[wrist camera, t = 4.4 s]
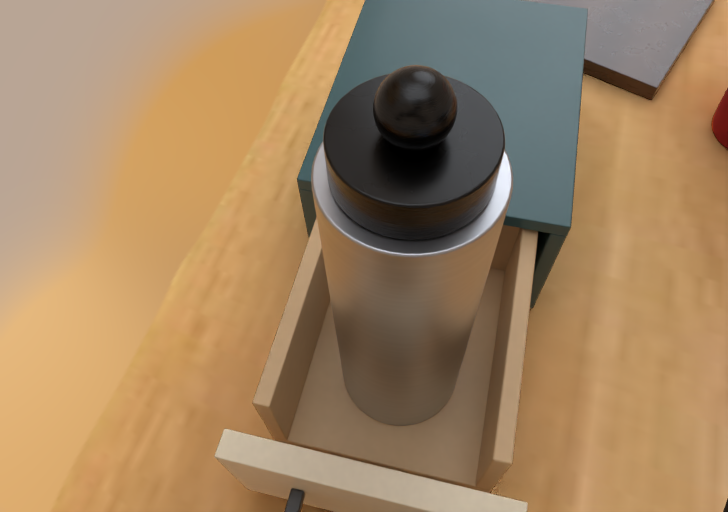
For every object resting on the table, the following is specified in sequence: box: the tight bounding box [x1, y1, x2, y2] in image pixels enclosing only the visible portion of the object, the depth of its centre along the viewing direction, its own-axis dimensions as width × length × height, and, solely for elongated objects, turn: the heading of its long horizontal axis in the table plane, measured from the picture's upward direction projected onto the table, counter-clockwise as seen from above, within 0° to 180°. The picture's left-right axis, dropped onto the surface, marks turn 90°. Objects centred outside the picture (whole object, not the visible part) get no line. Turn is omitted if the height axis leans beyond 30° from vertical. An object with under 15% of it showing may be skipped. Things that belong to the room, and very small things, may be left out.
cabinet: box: [297, 0, 588, 308], centre depth 37 cm, size 17×14×9 cm
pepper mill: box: [311, 65, 513, 426], centre depth 23 cm, size 6×6×20 cm
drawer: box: [215, 217, 538, 512], centre depth 29 cm, size 20×12×7 cm, turn 166°
